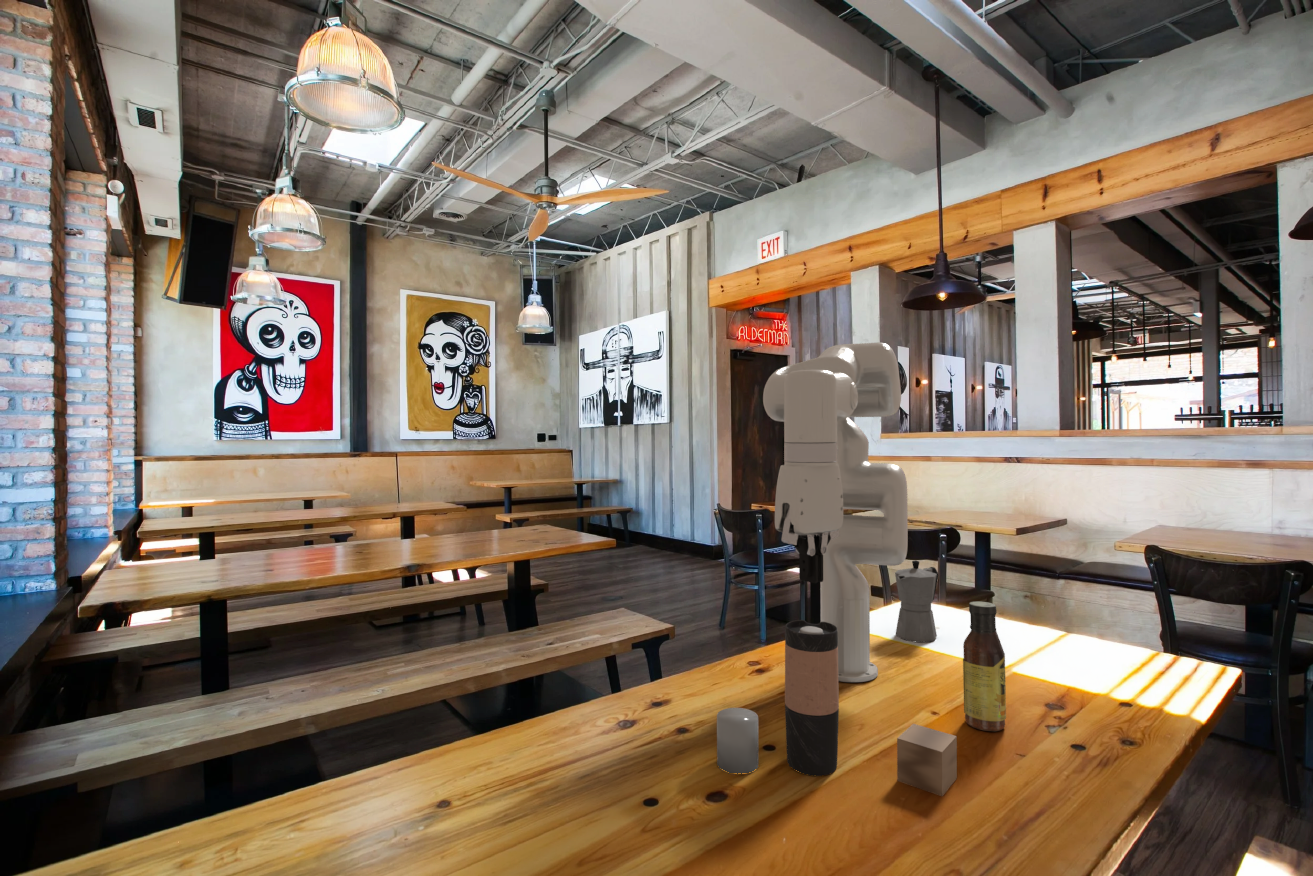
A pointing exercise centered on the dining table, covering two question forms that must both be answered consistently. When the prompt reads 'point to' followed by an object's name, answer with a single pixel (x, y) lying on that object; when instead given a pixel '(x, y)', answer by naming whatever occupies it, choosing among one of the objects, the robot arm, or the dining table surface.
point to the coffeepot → (916, 603)
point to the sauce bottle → (984, 671)
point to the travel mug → (811, 697)
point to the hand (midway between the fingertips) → (811, 580)
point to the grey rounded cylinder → (737, 740)
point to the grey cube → (927, 759)
